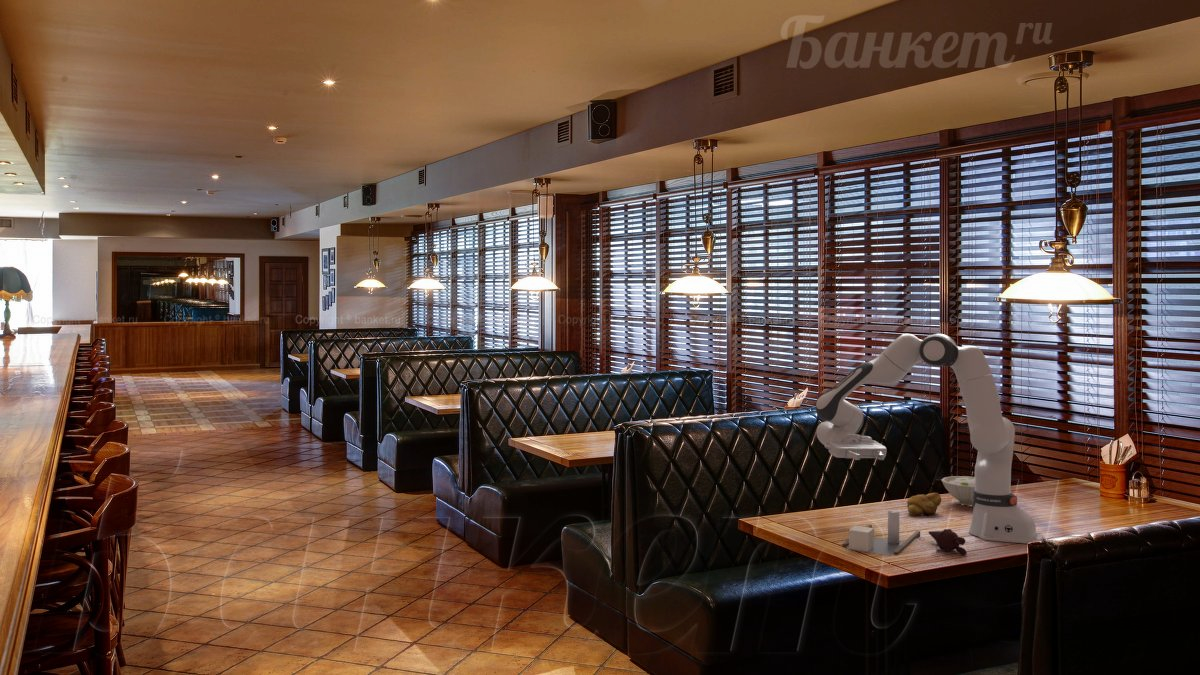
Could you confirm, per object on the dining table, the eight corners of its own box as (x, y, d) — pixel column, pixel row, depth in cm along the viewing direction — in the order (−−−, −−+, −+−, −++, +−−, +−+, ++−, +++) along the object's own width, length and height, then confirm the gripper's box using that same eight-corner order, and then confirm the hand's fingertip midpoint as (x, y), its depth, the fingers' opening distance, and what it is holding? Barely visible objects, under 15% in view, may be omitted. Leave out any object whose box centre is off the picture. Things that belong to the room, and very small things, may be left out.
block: (873, 546, 284) (873, 528, 283) (868, 551, 279) (868, 532, 278) (854, 544, 287) (854, 525, 287) (848, 548, 282) (848, 529, 282)
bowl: (1007, 508, 336) (1007, 482, 335) (960, 511, 332) (960, 484, 332) (975, 497, 355) (975, 472, 354) (931, 500, 351) (931, 474, 350)
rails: (920, 537, 299) (920, 531, 299) (897, 558, 275) (897, 552, 275) (868, 530, 308) (868, 524, 308) (842, 550, 285) (842, 543, 285)
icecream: (918, 526, 288) (955, 542, 275) (936, 518, 291) (973, 533, 278) (921, 545, 290) (957, 562, 276) (938, 537, 293) (975, 553, 279)
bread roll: (917, 518, 323) (917, 496, 323) (897, 512, 332) (897, 491, 332) (943, 514, 329) (944, 492, 328) (923, 508, 338) (923, 487, 337)
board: (905, 545, 289) (905, 511, 288) (890, 558, 274) (890, 523, 274) (861, 538, 297) (861, 505, 296) (845, 552, 282) (845, 517, 281)
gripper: (823, 435, 312) (845, 448, 299) (873, 436, 319) (897, 449, 306) (820, 453, 313) (842, 466, 300) (870, 453, 320) (894, 466, 307)
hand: (870, 457), depth 303 cm, fingers open, 8 cm apart
